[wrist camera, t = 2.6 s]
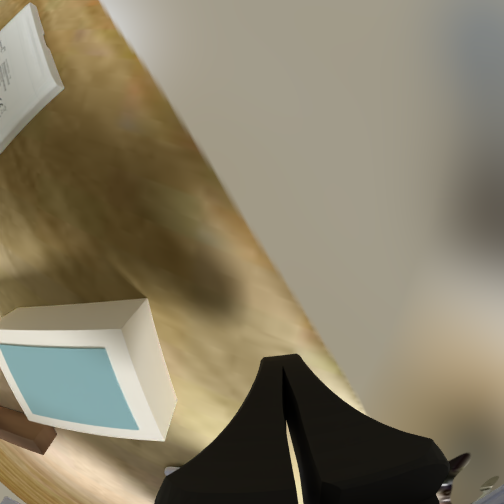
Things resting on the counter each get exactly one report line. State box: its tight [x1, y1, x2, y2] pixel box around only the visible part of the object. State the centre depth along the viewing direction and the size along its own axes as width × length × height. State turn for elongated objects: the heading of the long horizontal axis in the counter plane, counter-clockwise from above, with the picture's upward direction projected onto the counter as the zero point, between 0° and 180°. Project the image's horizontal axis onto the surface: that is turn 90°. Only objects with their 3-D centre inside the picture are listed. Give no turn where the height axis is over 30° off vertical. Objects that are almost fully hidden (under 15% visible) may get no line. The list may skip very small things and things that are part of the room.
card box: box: [0, 298, 177, 441], centre depth 12 cm, size 6×9×4 cm, turn 97°
